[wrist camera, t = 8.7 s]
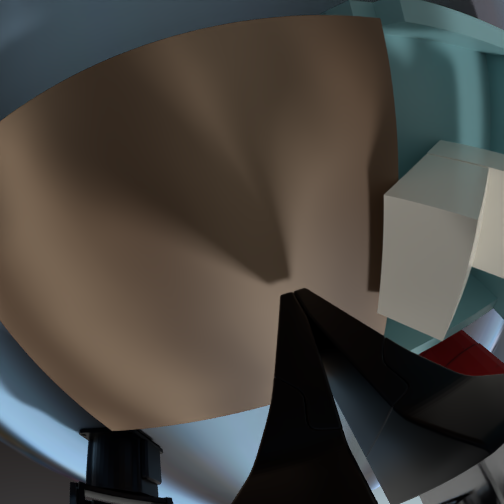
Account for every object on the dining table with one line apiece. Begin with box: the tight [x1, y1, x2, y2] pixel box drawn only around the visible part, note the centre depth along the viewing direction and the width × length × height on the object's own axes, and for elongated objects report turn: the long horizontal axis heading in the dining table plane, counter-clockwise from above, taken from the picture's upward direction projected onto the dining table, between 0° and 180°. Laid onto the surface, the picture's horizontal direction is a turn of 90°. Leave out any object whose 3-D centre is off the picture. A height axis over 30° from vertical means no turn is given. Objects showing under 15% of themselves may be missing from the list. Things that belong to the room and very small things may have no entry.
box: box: [320, 0, 504, 354], centre depth 11 cm, size 12×18×6 cm, turn 12°
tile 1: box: [427, 140, 504, 279], centre depth 11 cm, size 5×5×3 cm
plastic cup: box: [419, 330, 504, 376], centre depth 18 cm, size 11×11×12 cm
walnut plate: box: [0, 15, 398, 431], centre depth 11 cm, size 16×16×4 cm
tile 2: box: [377, 154, 489, 341], centre depth 9 cm, size 5×5×3 cm
